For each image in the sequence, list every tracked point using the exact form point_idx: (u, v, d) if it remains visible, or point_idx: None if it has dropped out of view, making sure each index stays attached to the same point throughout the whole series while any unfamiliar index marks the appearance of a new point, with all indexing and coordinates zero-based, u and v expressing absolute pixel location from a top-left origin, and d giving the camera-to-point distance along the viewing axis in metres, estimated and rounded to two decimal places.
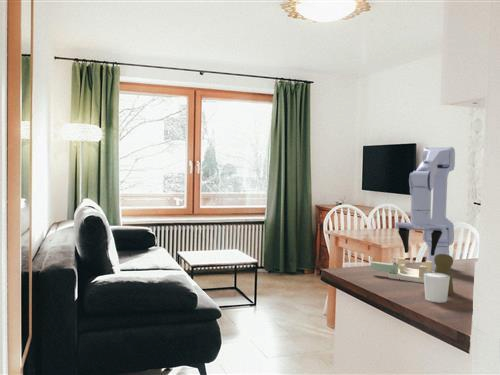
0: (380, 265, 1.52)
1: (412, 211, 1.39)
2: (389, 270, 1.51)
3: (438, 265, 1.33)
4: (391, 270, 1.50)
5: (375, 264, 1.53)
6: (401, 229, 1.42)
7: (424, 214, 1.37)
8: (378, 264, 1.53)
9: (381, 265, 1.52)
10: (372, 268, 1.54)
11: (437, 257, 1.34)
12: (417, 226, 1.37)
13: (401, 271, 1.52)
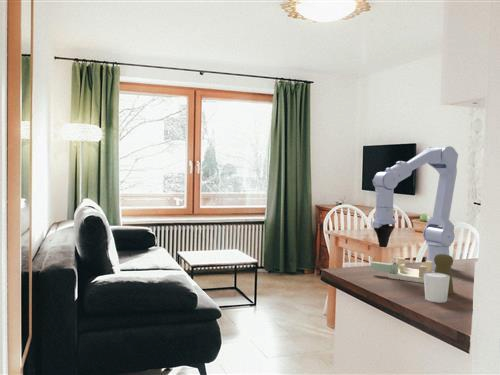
0: (380, 265, 1.52)
1: (387, 209, 1.51)
2: (389, 270, 1.51)
3: (438, 265, 1.33)
4: (391, 270, 1.50)
5: (375, 264, 1.53)
6: (384, 226, 1.52)
7: None
8: (378, 264, 1.53)
9: (381, 265, 1.52)
10: (372, 268, 1.54)
11: (437, 257, 1.34)
12: (395, 222, 1.52)
13: (401, 271, 1.52)
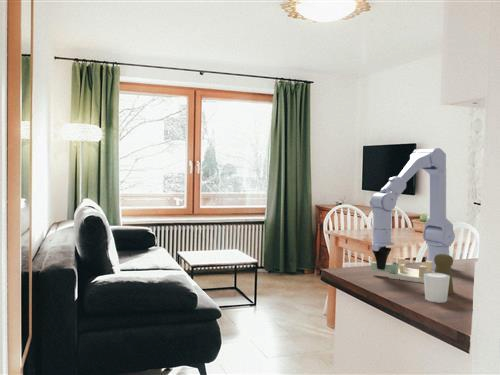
0: None
1: (385, 231, 1.48)
2: (389, 270, 1.51)
3: (438, 265, 1.33)
4: (391, 270, 1.50)
5: (375, 264, 1.53)
6: (382, 248, 1.50)
7: None
8: None
9: None
10: (372, 268, 1.54)
11: (437, 257, 1.34)
12: (393, 244, 1.49)
13: (401, 271, 1.52)
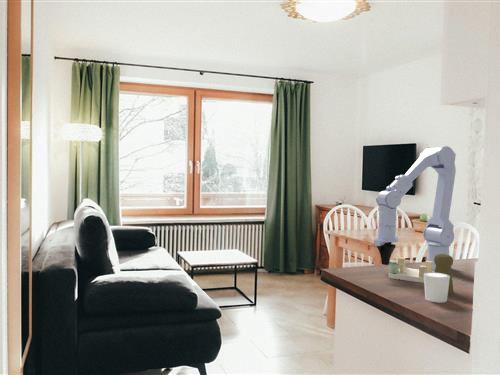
0: (389, 263, 1.55)
1: (389, 227, 1.54)
2: (390, 269, 1.52)
3: (438, 265, 1.33)
4: None
5: (389, 262, 1.57)
6: (386, 244, 1.55)
7: (395, 229, 1.56)
8: (389, 262, 1.56)
9: (389, 263, 1.55)
10: (388, 266, 1.58)
11: (437, 257, 1.34)
12: (397, 240, 1.54)
13: (401, 271, 1.52)
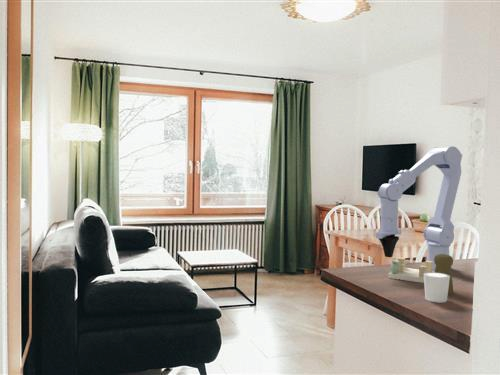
0: None
1: (391, 220, 1.55)
2: None
3: (438, 265, 1.33)
4: None
5: (392, 262, 1.57)
6: (388, 237, 1.56)
7: (397, 221, 1.57)
8: (392, 262, 1.56)
9: None
10: None
11: (437, 257, 1.34)
12: (399, 232, 1.55)
13: (401, 271, 1.52)
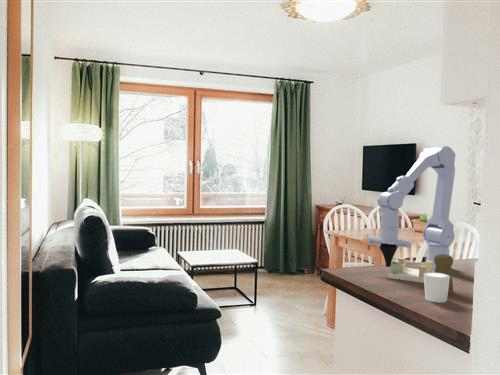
0: None
1: (381, 228, 1.55)
2: None
3: (438, 265, 1.33)
4: None
5: (392, 262, 1.57)
6: (383, 245, 1.56)
7: (391, 231, 1.53)
8: (392, 262, 1.56)
9: None
10: None
11: (437, 257, 1.34)
12: (385, 242, 1.53)
13: (401, 271, 1.52)
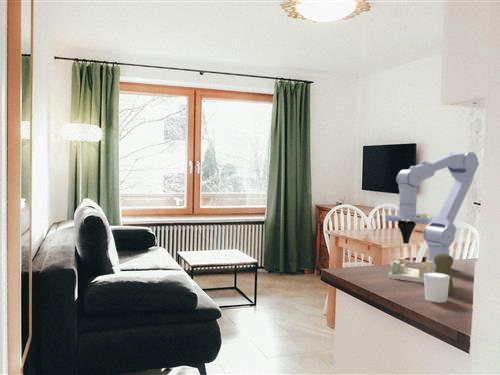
0: None
1: (400, 205, 1.56)
2: None
3: (438, 265, 1.33)
4: None
5: None
6: (400, 222, 1.57)
7: (410, 207, 1.54)
8: (393, 262, 1.56)
9: None
10: None
11: (437, 257, 1.34)
12: (403, 218, 1.54)
13: (401, 271, 1.52)
